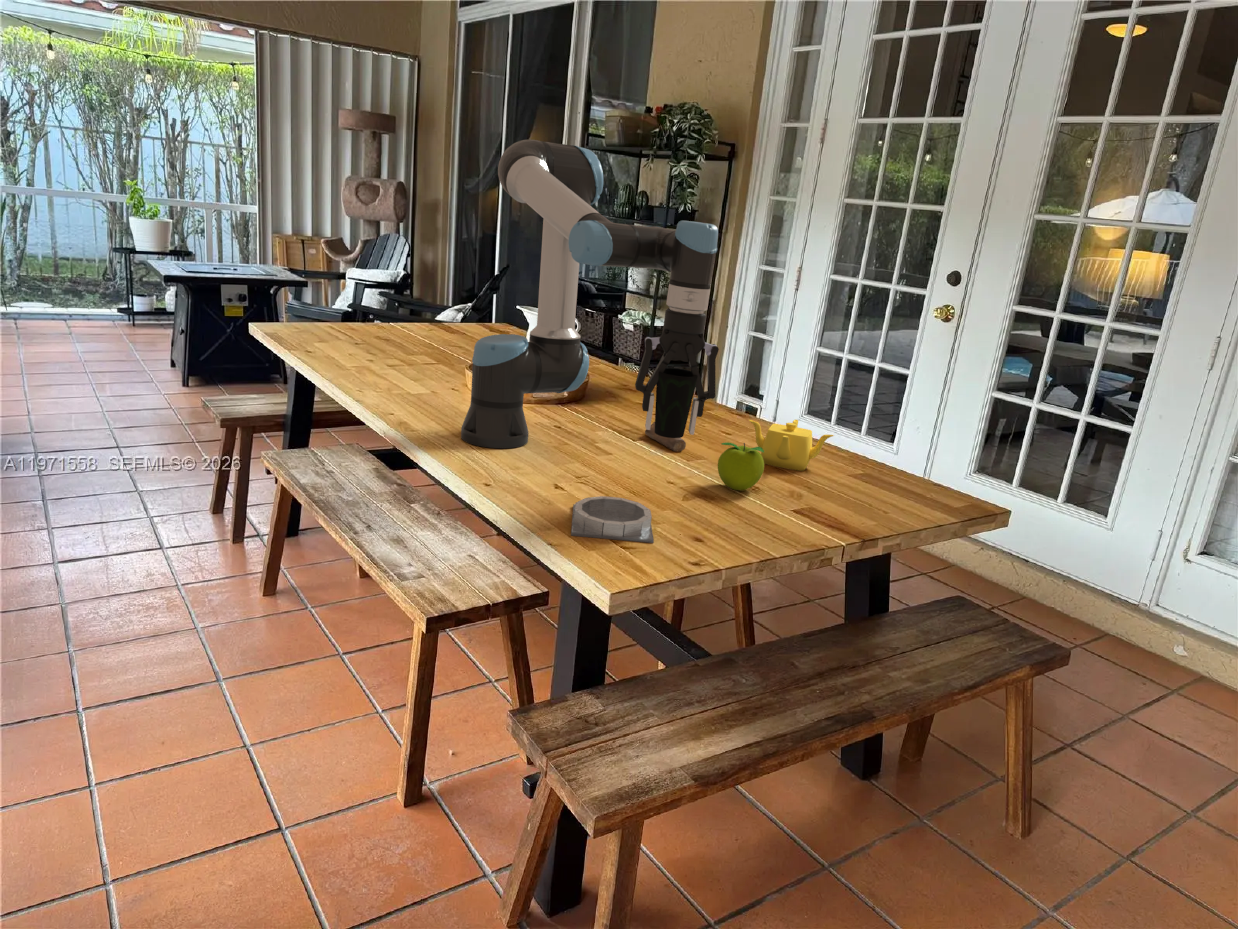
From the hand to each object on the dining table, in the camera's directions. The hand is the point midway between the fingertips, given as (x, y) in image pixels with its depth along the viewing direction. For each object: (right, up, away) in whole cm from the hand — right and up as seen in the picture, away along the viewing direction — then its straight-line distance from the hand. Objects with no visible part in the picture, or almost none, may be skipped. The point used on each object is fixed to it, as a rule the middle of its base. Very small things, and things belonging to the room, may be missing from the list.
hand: (669, 430), depth 160 cm
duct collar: (-11, -17, -11) cm, 23 cm away
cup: (0, -1, 0) cm, 1 cm away
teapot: (+30, -6, +39) cm, 49 cm away
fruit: (+15, -12, +16) cm, 25 cm away
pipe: (+3, -1, +46) cm, 46 cm away
